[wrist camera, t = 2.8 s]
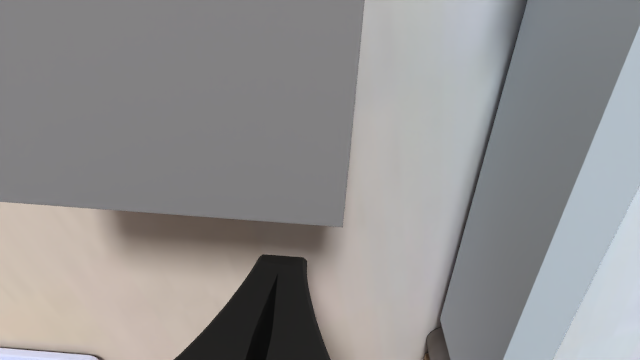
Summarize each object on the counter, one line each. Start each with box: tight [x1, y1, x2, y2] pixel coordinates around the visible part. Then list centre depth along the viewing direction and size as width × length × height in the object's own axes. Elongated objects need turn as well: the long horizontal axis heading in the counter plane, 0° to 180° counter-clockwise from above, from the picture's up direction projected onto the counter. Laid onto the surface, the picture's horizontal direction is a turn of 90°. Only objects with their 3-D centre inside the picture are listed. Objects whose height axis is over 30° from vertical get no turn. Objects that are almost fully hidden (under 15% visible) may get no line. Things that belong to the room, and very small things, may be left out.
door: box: [440, 0, 640, 360], centre depth 11 cm, size 12×2×4 cm, turn 177°
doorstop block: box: [0, 0, 365, 227], centre depth 9 cm, size 4×8×6 cm, turn 87°
